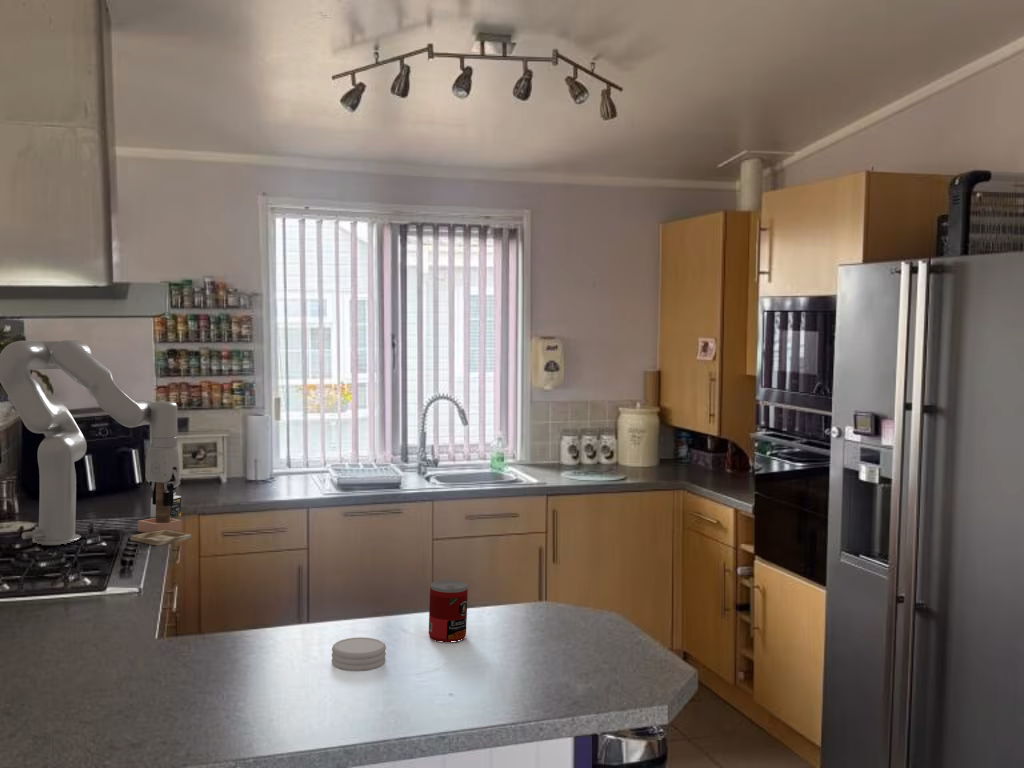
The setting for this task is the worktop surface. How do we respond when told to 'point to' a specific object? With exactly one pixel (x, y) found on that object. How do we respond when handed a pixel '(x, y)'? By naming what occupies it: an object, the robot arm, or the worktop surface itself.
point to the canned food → (448, 610)
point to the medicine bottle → (174, 509)
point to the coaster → (358, 654)
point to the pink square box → (158, 525)
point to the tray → (160, 537)
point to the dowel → (161, 505)
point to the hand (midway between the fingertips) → (162, 504)
